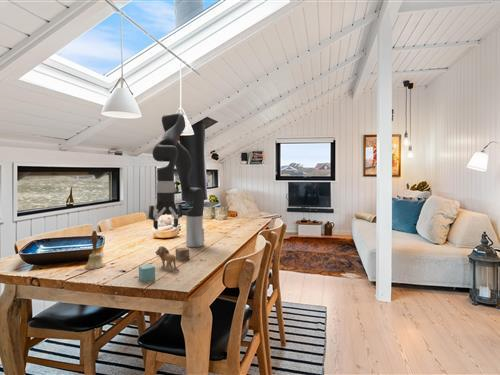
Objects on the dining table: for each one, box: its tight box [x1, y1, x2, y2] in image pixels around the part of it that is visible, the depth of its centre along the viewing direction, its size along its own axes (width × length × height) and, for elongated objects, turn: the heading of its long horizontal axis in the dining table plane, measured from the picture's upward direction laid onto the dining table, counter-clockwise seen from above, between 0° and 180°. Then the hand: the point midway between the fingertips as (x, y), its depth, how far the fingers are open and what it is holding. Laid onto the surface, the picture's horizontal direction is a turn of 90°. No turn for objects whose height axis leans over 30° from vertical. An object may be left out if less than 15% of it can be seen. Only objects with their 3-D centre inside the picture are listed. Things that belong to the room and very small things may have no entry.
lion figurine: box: [154, 245, 180, 273], centre depth 137 cm, size 15×5×9 cm, turn 50°
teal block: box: [138, 263, 156, 282], centre depth 124 cm, size 5×5×5 cm
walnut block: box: [175, 247, 190, 262], centre depth 151 cm, size 5×5×5 cm
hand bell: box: [84, 230, 106, 270], centre depth 139 cm, size 8×8×16 cm
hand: (165, 228), depth 137 cm, fingers open, 8 cm apart
